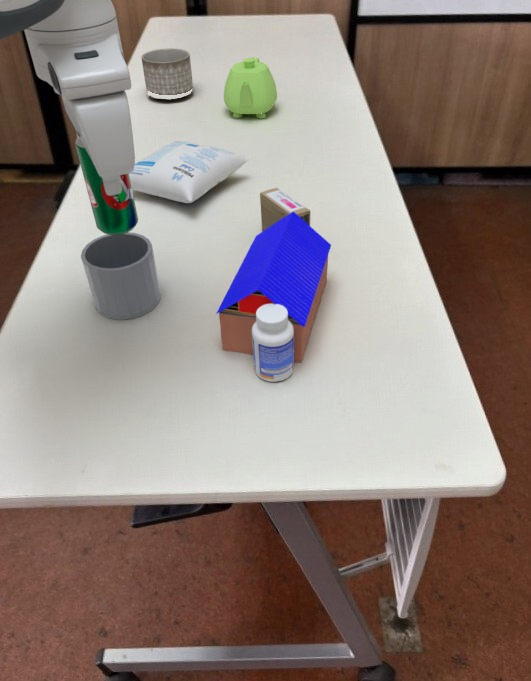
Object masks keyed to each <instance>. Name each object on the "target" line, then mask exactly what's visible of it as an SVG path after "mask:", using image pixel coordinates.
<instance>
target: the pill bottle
mask: <svg viewBox="0 0 531 681" xmlns="http://www.w3.org/2000/svg"><path fill="white" fill-rule="evenodd" d="M288 318H289V316H288V311H287V309H286V308H285V307H284V306H282V305H280V304H275V303H270V304H265V305H263V306H261V307H259V308H258V310H257V312H256V322H255V323H254V325H253V327H252V343H253V369H254V372H255V374H256V375H257V376H258V378H260V379H261V380H263V381H266V382H272V383H273V382H274V383H275V382H280V381H284V380H286V379H288V378H289V377H290V376H291V375H292V374H293V371H294V367H295V361H294V329H293V325H292V323H291V322H290V321H291V320H290V321H289V320H288Z"/></svg>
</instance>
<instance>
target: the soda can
mask: <svg viewBox="0 0 531 681" xmlns="http://www.w3.org/2000/svg"><path fill="white" fill-rule="evenodd" d="M75 132H76V131H75ZM75 134H76V138H75V141H74V144H75V145H74V146H75V149H76V152H77V156H78V160H79V164H80V168H81V172H82V177H83V179H84V183H85V187H86V191H87V195H88V198H89V203H90V207H91V210H92V214H93V218H94V221H95V225H96V228H97V229H98V230H99V232H102V233H103V234H104V235H107V234H108V235H121V234H125V233H127V232H131V231H132V230H134V229H135V227H136V226H137V225H138V223H139V217H138V212H137V206H136V201H135V196H134V192H133V191H134V190H133V189H132V186H131V181H130V177H129V173H128V174H123V175H120V182H121V187H122V192H121V193H120V194H116V195H111V196H109V195H107V194H106V192H105V190H104V187H103V183H102V179H101V177H100V176H99V174H98V172H97V170H96V168H95V166H94V164H93V162H92V160H91V158H90V157H89V155H88V153H87V151H86V149H85V147H84V145H83V143H82V141H81V137H80V136H79V134H78V131H77V132H76V133H75Z"/></svg>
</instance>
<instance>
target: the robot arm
mask: <svg viewBox="0 0 531 681" xmlns="http://www.w3.org/2000/svg"><path fill="white" fill-rule="evenodd" d="M20 32H24V35H25V39H26V41H27V46H28V50H29V53H30V56H31V59H32V63H33V67H34V70H35V74H36V76H37V77H38V78H39V79H40V80H42V81H43V82H46V83H47V84H49V85H50V86H51V87H52V88H53V91H54V93H55V94H57V95H60V96H61V99H62V103H63V106H64V110H65V111H66V115H67V117H68V119H69V120H70V122H71V124H72V126H73V128H74V130H75V132H77V131H78V134H79V136H80V137H81V141H82V143H83V145H84V147H85V149H86V151H87V153H88V155H89V157H90V158H91V160H92V162H93V164H94V166H95V168H96V170H97V172H98V174H99V176H100V177H101V179H102V183H103V187H104V190H105V192H106V194H107V195H109V196H111V195H116V194H120V193H121V192H122V187H121V182H120V175H123V174H128V173H131V172H132V171H133V170H134V166H135V164H136V152H135V144H134V134H133V126H132V119H131V118H132V117H131V110H130V104H129V100H128V96H127V93H126V91H128V90H131V89H132V80H131V74H130V70H129V67H128V64H127V61H126V59H125V55H124V50H123V44H122V40H121V35H120V29H119V24H118V18H117V12H116V9H115V6H114V4H113V2H112V0H0V40H2V39H7V38H9V37H11V36H14V35H15V34H18V33H20Z"/></svg>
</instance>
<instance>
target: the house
mask: <svg viewBox="0 0 531 681" xmlns="http://www.w3.org/2000/svg"><path fill="white" fill-rule="evenodd" d="M331 247H332V244H331V243H330V242H328V240H326V239H325V238H324V237H323V236H322V235H321V234H320V233H319V232H317V231H316V230H315V229H314V228H313V227H312V226H311V225H310V226H309V225H308V224H307V223H306V222H305V221H304V220H302V219H301V218H300V217H299V216H298V215H297V214H296V213H295V212H292V213H290V214H289V215H287V216H286V217H284V218H283V219H281V220H280V221H278V222H276V223H275V224H273V225H272V226H270V227H269V228H267V229H266V230H264V231H263V232H262V231H261V232H260V233H258V234H256V236H255V237H254V239H253V241H252V243H251V245H250V246H249V249H248V251H247V253H246V254H245V257H244V258H243V261H242V262H241V264H240V265H239V268H238V270H237V272H236V274H235V276H234V278H233V280H232V281H231V283H230V285H229V288H228V290H227V291H226V293H225V295H224V297H223V300H222V301H221V303H220V306H219V307H218V309H217V311H216V313H215V315H217V314H218V317H219V327H220V328H219V329H220V337H221V346H222V351H227V352H235V353H240V354H247V355H253V343H252V327H253V325H254V323H255V322H256V312H257V310H258V308H259V307H261V306H263V305H265V304H270V303H275V304H280V305H282V306H284V307H285V308H286V309H287V311H288V320H289V321H290V322H291V323H292V325H293V329H294V363H303V359H304V356H305V353H306V350H307V347H308V343H309V340H310V336H311V333H312V330H313V327H314V324H315V320H316V317H317V314H318V310H319V307H320V304H321V301H322V298H323V294H324V291H325V288H326V285H327V281H328V266H329V265H328V264H329V253H330V251H331Z"/></svg>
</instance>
